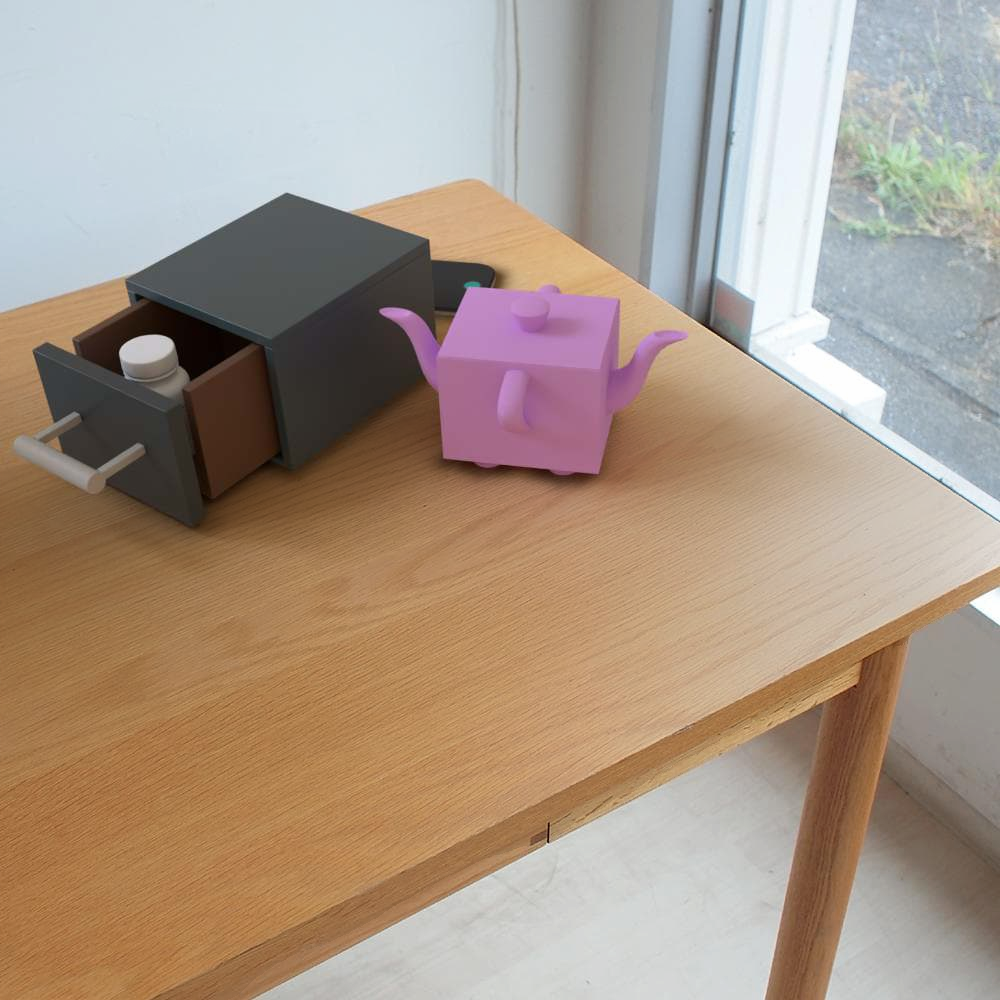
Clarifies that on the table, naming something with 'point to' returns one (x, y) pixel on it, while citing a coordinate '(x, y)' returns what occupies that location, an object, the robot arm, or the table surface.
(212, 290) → the cabinet
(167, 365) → the pill bottle
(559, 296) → the teapot
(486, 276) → the smartphone
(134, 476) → the drawer
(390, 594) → the table surface
